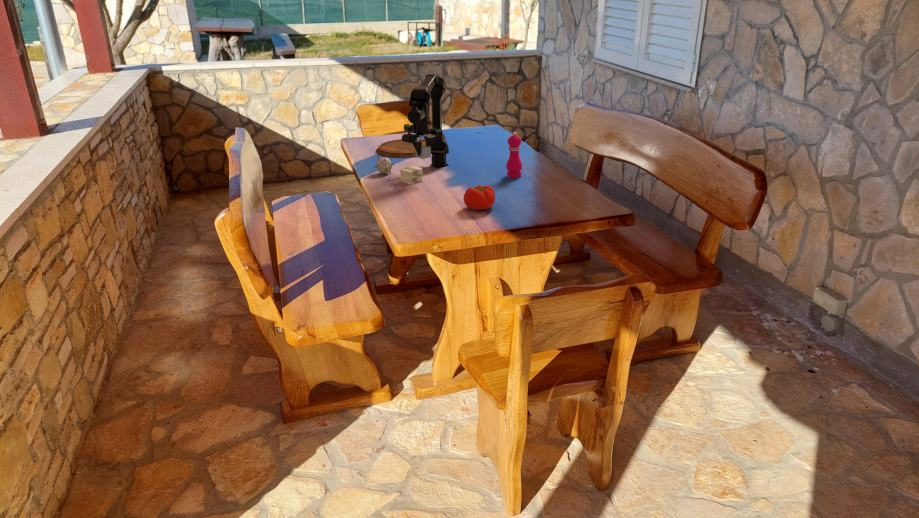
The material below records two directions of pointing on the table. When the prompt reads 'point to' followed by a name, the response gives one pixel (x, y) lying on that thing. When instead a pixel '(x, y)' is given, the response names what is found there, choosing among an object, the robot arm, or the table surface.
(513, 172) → the pepper mill
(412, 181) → the slab lower
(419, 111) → the robot arm
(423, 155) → the cube
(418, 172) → the slab upper
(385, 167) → the spiky ball
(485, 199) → the tomato
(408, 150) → the cutting board
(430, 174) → the table surface
